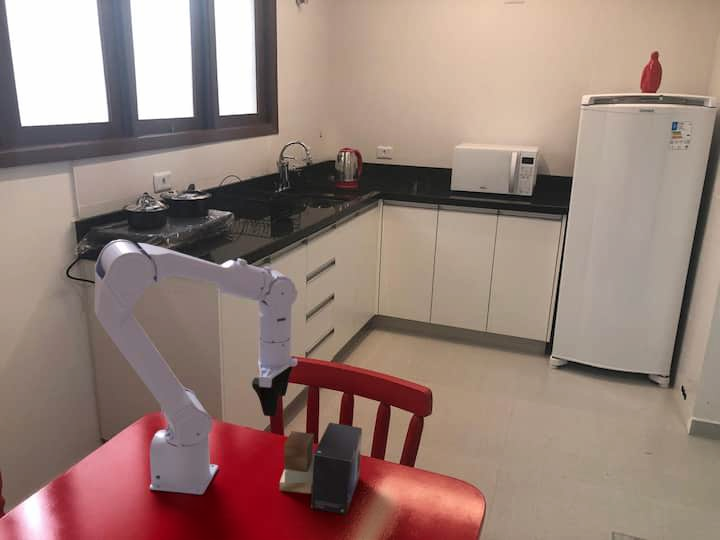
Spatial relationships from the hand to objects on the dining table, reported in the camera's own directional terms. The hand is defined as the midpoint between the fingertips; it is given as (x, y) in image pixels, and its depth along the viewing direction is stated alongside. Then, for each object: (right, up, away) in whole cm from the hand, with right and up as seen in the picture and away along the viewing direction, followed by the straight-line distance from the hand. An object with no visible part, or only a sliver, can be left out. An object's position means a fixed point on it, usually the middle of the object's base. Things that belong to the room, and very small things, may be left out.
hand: (275, 404), depth 107 cm
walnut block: (+5, -9, -6) cm, 12 cm away
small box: (+12, -14, -8) cm, 20 cm away
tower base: (+5, -13, -5) cm, 15 cm away
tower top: (+5, -11, -6) cm, 13 cm away
